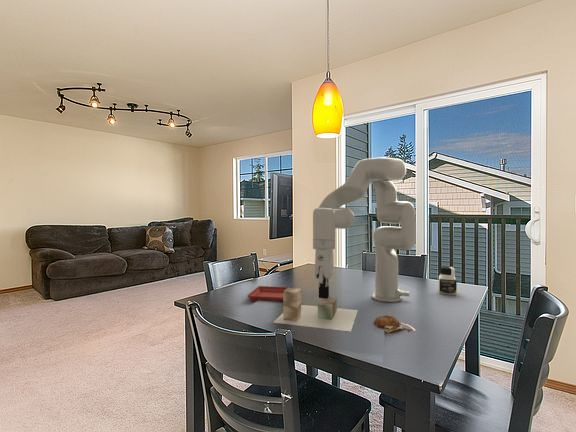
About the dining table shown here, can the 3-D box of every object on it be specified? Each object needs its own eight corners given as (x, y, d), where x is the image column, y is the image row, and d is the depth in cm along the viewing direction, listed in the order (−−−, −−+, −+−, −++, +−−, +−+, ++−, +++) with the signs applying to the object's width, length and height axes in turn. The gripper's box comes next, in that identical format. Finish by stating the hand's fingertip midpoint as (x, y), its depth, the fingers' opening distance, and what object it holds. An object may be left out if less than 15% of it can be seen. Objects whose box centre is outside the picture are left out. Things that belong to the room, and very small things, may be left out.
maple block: (301, 316, 116) (301, 288, 116) (297, 321, 112) (297, 292, 111) (287, 315, 118) (287, 287, 117) (283, 319, 113) (283, 291, 113)
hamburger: (392, 341, 99) (392, 322, 99) (362, 326, 112) (362, 308, 112) (425, 333, 105) (425, 314, 105) (393, 319, 118) (393, 303, 118)
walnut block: (331, 319, 113) (336, 311, 123) (331, 305, 113) (336, 297, 122) (317, 318, 114) (323, 309, 124) (317, 304, 114) (323, 296, 124)
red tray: (258, 292, 155) (258, 285, 155) (296, 294, 152) (296, 287, 152) (246, 303, 138) (246, 295, 137) (288, 305, 134) (288, 297, 134)
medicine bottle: (439, 293, 151) (439, 267, 151) (438, 289, 158) (438, 265, 158) (456, 295, 149) (456, 268, 148) (455, 291, 155) (455, 266, 155)
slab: (357, 313, 124) (357, 310, 124) (350, 335, 103) (350, 331, 103) (292, 306, 131) (292, 303, 131) (273, 326, 110) (273, 322, 110)
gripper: (330, 247, 103) (330, 305, 104) (338, 242, 117) (338, 293, 118) (307, 246, 105) (307, 303, 106) (318, 241, 120) (317, 291, 120)
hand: (323, 297), depth 112 cm, fingers closed
